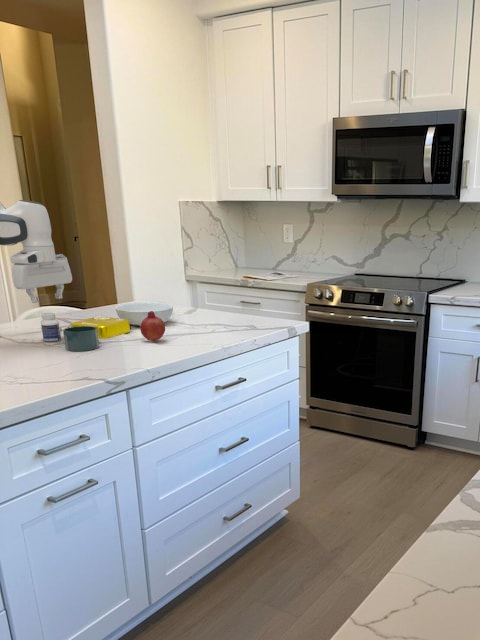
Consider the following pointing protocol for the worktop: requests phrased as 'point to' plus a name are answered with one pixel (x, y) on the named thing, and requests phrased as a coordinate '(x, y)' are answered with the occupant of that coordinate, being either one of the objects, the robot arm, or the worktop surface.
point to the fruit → (152, 327)
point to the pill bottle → (50, 329)
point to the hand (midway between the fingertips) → (47, 300)
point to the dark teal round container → (81, 338)
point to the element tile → (105, 326)
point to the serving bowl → (143, 311)
